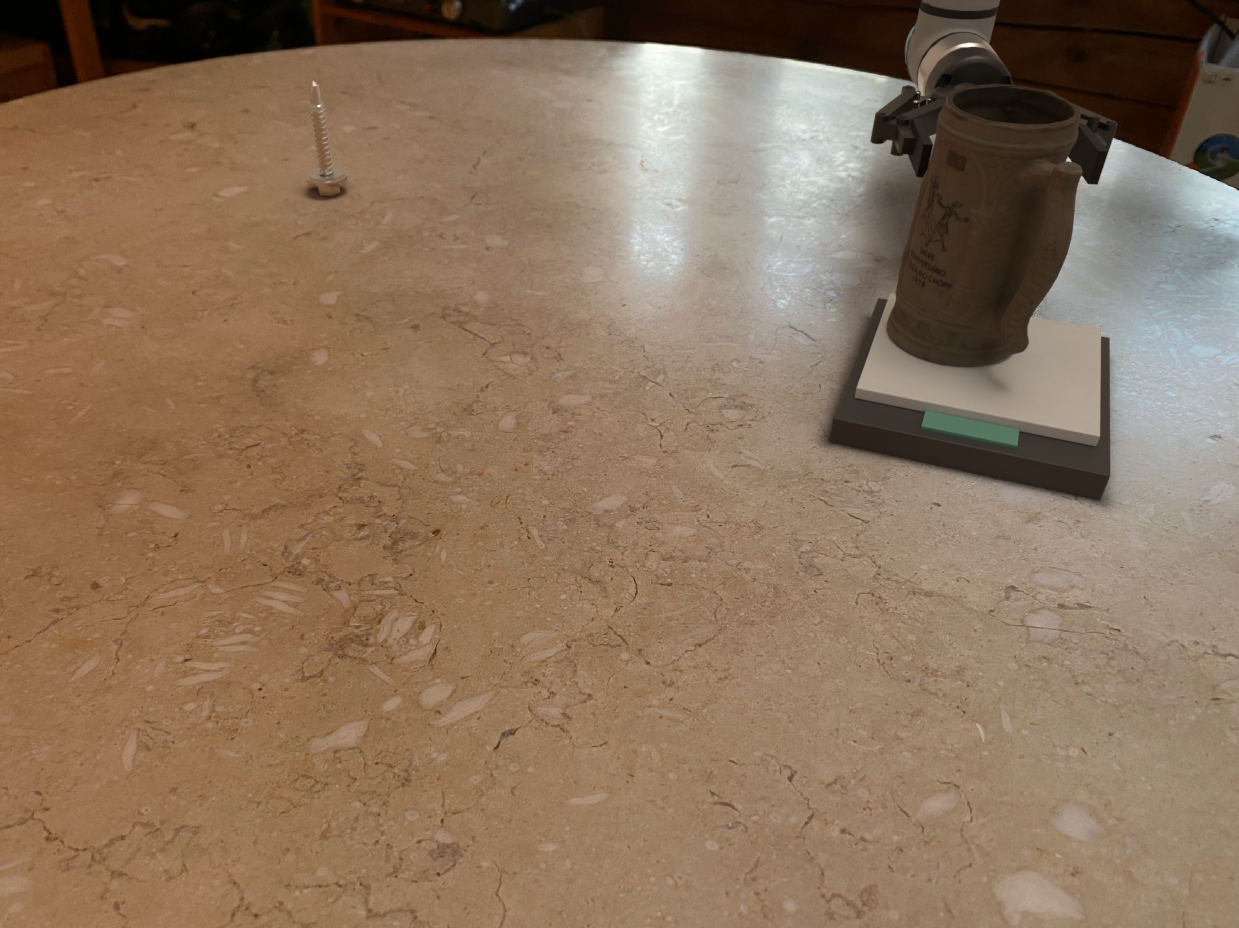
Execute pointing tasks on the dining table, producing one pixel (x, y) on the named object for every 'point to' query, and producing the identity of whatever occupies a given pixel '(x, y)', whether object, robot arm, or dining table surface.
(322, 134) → the screw
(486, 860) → the dining table surface
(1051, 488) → the scale
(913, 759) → the dining table surface
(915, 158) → the robot arm
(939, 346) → the beer stein
